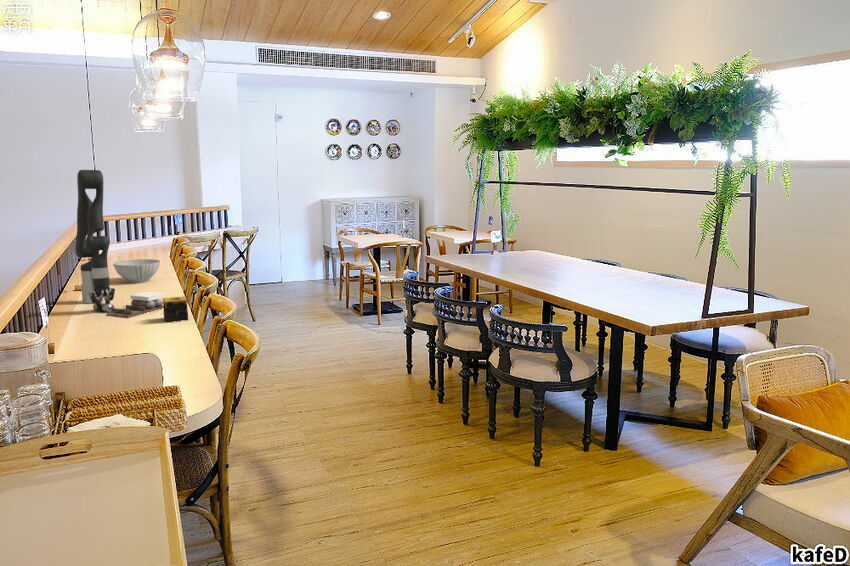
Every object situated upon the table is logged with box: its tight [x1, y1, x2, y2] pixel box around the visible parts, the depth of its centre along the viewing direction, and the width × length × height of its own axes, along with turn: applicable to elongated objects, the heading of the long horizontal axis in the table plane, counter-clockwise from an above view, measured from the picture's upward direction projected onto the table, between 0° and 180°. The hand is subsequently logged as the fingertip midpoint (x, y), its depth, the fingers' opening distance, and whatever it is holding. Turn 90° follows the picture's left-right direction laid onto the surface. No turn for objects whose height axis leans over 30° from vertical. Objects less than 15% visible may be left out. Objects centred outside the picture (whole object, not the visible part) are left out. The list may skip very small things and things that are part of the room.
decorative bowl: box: [112, 258, 161, 284], centre depth 407 cm, size 27×27×12 cm
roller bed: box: [106, 298, 164, 319], centre depth 323 cm, size 14×24×5 cm, turn 156°
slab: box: [130, 291, 165, 301], centre depth 328 cm, size 12×10×2 cm
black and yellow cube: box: [162, 296, 189, 323], centre depth 306 cm, size 10×10×10 cm
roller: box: [92, 302, 115, 313], centre depth 324 cm, size 10×4×4 cm, turn 66°
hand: (103, 310), depth 324 cm, fingers closed on roller, 4 cm apart
